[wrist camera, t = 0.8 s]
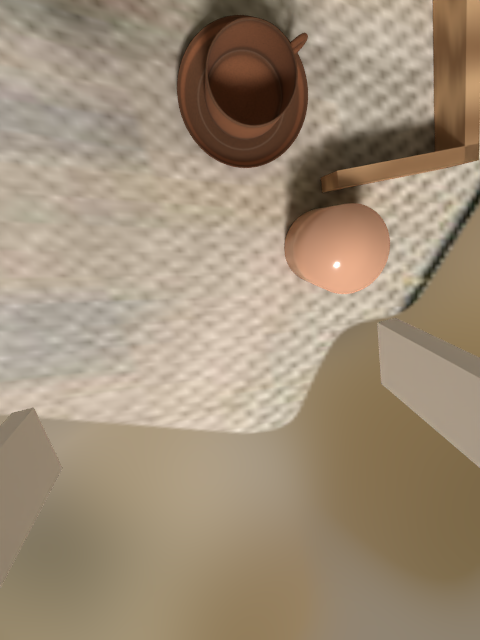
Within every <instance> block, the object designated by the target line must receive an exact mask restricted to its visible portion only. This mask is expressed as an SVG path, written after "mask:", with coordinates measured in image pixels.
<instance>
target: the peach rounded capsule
mask: <svg viewBox="0 0 480 640" xmlns="http://www.w3.org/2000/svg"><path fill="white" fill-rule="evenodd" d="M284 250H285V257H286V261H287V263H288V265H289V267H290V269H291V270H292V271H293V272H294V273H295V274H296V275H297V276H298V277H300V278H301V279H303V280H305V281H308V282H310V283H312V284H314V285H317V286H319V287H321V288H324V289H326V290H328V291H330V292H334V293H338V294H349V293H354V292H357V291H360V290H362V289H364V288H365V287H367V286H369V285H370V284H371V283H372V282H373V281H374V280H375V279H376V278H377V277H378V276H379V275H380V273H381V272H382V270H383V268H384V266H385V264H386V262H387V259H388V255H389V250H390V238H389V233H388V229H387V227H386V224H385V223H384V221H383V219H382V218H381V217H380V215H379V214H378V213H377V212H375V211H374V210H373V209H371V208H369V207H367V206H365V205H362V204H356V203H349V204H342V205H336V206H330V207H325V208H319V209H314V210H310V211H308V212H306V213H304V214H302V215H301V216H300V217H298V218H297V219H296V220H295V221H294V223H293V224H292V225H291V227H290V229H289V231H288V233H287V236H286V239H285V247H284Z"/></svg>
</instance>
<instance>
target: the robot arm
mask: <svg viewBox="0 0 480 640" xmlns="http://www.w3.org/2000/svg"><path fill="white" fill-rule="evenodd" d="M377 325H378V340H379V355H380V371H381V384H383V385H384V386H385V387H386V388H387V389H388V390H389V391H391V392H392V393H393V394H394V395H395V396H396V397H398V398H399V399H400V400H401V401H402V402H403V403H405V404H406V405H407V406H408V407H409V408H410V409H412V410H413V411H414V412H415V413H416V414H417V415H419V416H420V417H421V418H422V419H423V420H425V421H426V422H427V423H428V424H429V425H430V426H432V427H433V428H434V429H435V430H436V431H437V432H439V433H440V434H441V435H442V436H443V437H444V438H446V439H447V440H448V441H449V442H450V443H452V444H453V445H454V446H455V447H456V448H457V449H459V450H460V451H461V452H462V453H463V454H464V455H466V456H467V457H468V458H469V459H470V460H471V461H472V462H474V463H475V464H476V465H478V467H480V358H479V357H477V356H475V355H473V354H471V353H469V352H466V351H464V350H462V349H460V348H458V347H456V346H454V345H452V344H450V343H447V342H445V341H443V340H441V339H439V338H437V337H435V336H433V335H431V334H429V333H426V332H424V331H422V330H420V329H418V328H416V327H414V326H411V325H410V324H407V323H405V322H403V321H401V320H399V319H397V318H393V319H389V320H385V321H381V322H377ZM61 470H62V466H61V464H60V462H59V459H58V457H57V455H56V453H55V451H54V449H53V447H52V445H51V443H50V440H49V438H48V436H47V434H46V432H45V430H44V428H43V426H42V424H41V422H40V420H39V417H38V415H37V413H36V411H35V409H34V408H30V409H26V410H22V411H18V412H14V413H11V415H10V416H9V417H8V418H7V419H6V420H5V421H4V422H3V423H2V424H1V425H0V587H1V586H2V584H3V582H4V580H5V578H6V576H7V574H8V572H9V570H10V568H11V566H12V564H13V562H14V561H15V559H16V557H17V555H18V553H19V551H20V549H21V547H22V545H23V543H24V541H25V539H26V537H27V535H28V533H29V532H30V530H31V527H32V526H33V524H34V522H35V520H36V518H37V516H38V514H39V512H40V510H41V508H42V506H43V504H44V503H45V501H46V499H47V497H48V495H49V493H50V491H51V489H52V487H53V485H54V483H55V481H56V479H57V477H58V476H59V473H60V472H61Z"/></svg>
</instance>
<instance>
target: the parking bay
mask: <svg viewBox="0 0 480 640" xmlns="http://www.w3.org/2000/svg"><path fill="white" fill-rule="evenodd" d="M433 39H434V119H435V152H432V153H426V154H421V155H416V156H411V157H406V158H401V159H395V160H390V161H385V162H380V163H375V164H370V165H364V166H359V167H354V168H349V169H344V170H339V171H335V172H333V173H331V174H328V175H326V176H323V177H321V184H322V193H323V192H328V191H333V190H338V189H343V188H348V187H353V186H358V185H363V184H368V183H374V182H379V181H384V180H389V179H394V178H399V177H404V176H409V175H414V174H419V173H424V172H429V171H434V170H439V169H444V168H449V167H453V166H457V165H461V164H465V163H469V162H473V161H477V160H479V128H480V0H433Z"/></svg>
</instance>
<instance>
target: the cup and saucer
mask: <svg viewBox="0 0 480 640" xmlns="http://www.w3.org/2000/svg"><path fill="white" fill-rule="evenodd" d="M307 38H308V35H307V34H306V33H302V34H300V35H299V36H298V37H296V38H295V39H294V40H293V41H291V42H290V41H289V40H288V39H287V37H286V36H285V35H284V34H283V33H282V32H281V31H280V30H279V29H278V28H277V27H276V26H275V25H273V24H272V23H270V22H268V21H266V20H263V19H260V18H256V17H252V16H246V15H233V16H227V17H223V18H220V19H218V20H216V21H214V22H212V23H210V24H209V25H207V26H206V27H204V28H203V29H202V30H201V31H200V32H199V33H198V34H197V35H196V36H195V37H194V38H193V40H192V41H191V42H190V44H189V46H188V47H187V49H186V51H185V53H184V55H183V58H182V61H181V64H180V68H179V73H178V81H177V95H178V103H179V108H180V112H181V115H182V118H183V121H184V123H185V125H186V128H187V130H188V131H189V133H190V135H191V136H192V138H193V139H194V141H195V142H196V143H197V144H198V145H199V147H200V148H201V149H202V150H204V151H205V152H206V153H207V154H208V155H209V156H211V157H212V158H214V159H215V160H217V161H219V162H221V163H224V164H226V165H230V166H233V167H239V168H252V167H258V166H261V165H264V164H267V163H269V162H271V161H273V160H275V159H276V158H278V157H279V156H281V155H282V154H283V153H284V152H285V151H286V150H287V149H288V148H289V147H290V146H291V145H292V143H293V142H294V141H295V139H296V138H297V136H298V134H299V132H300V130H301V128H302V125H303V122H304V119H305V115H306V111H307V103H308V87H307V79H306V74H305V71H304V67H303V64H302V62H301V59H300V57H299V55H298V53H297V52H298V51H299V50H300V49H301V48H302V47H303V45H304V44H305V42H306V41H307Z"/></svg>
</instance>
